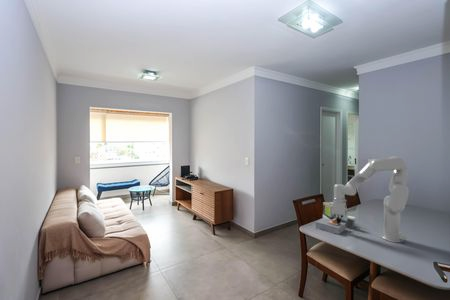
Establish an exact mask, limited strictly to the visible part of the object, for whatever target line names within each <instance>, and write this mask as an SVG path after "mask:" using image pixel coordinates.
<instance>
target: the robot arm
mask: <svg viewBox="0 0 450 300" xmlns="http://www.w3.org/2000/svg"><path fill="white" fill-rule="evenodd" d="M388 171H392V175H391V179H390V182H389V185H388V191H389V192H390V193H389V195H386V196H385V197H384V199H383V233H382V234H380V237H381V239H383V240H385V241H387V242H391V243H402V242H403V241H406V242H408V240H409V239H408V237H407V236H403V235H402V233H401V212H403V211H404V210H405V208H406V204H407V201H408V198H409V195H410V190H409V187H408V186H407V181H408V176H409V170H408V167H407V165H406V161H405V159H404V158H402V157H400V156H395V155H394V156H393V155H392V156H390V157H388V158H372V159H370V160H369V161H368V162H367V163H366V164H365V166H364V167H362V168H361V169H360V170H359V172H357V173H356V174H355V175H354V176H353V177H352V178H351V179H350V180H349V181H348V182H347V183H346V184H341V183H336V184H334V186H333V200H332V202H333V203H332V214H333V215H335V216H336V218H337V219H336V221H337V223H341V222H342V219H343V218H347V214H348V209H347V203H346V202H347V201H348V200H347V199H346V198H345V196H346V195H347V196H351V197H352V196H355V195H356V194H357V191H358V190H357V189H358V187H360V185H362V184H364V183H365V182H369V181H370V180H371V179H372V178H373V176H375V175H376V173H378V172H388Z"/></svg>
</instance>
